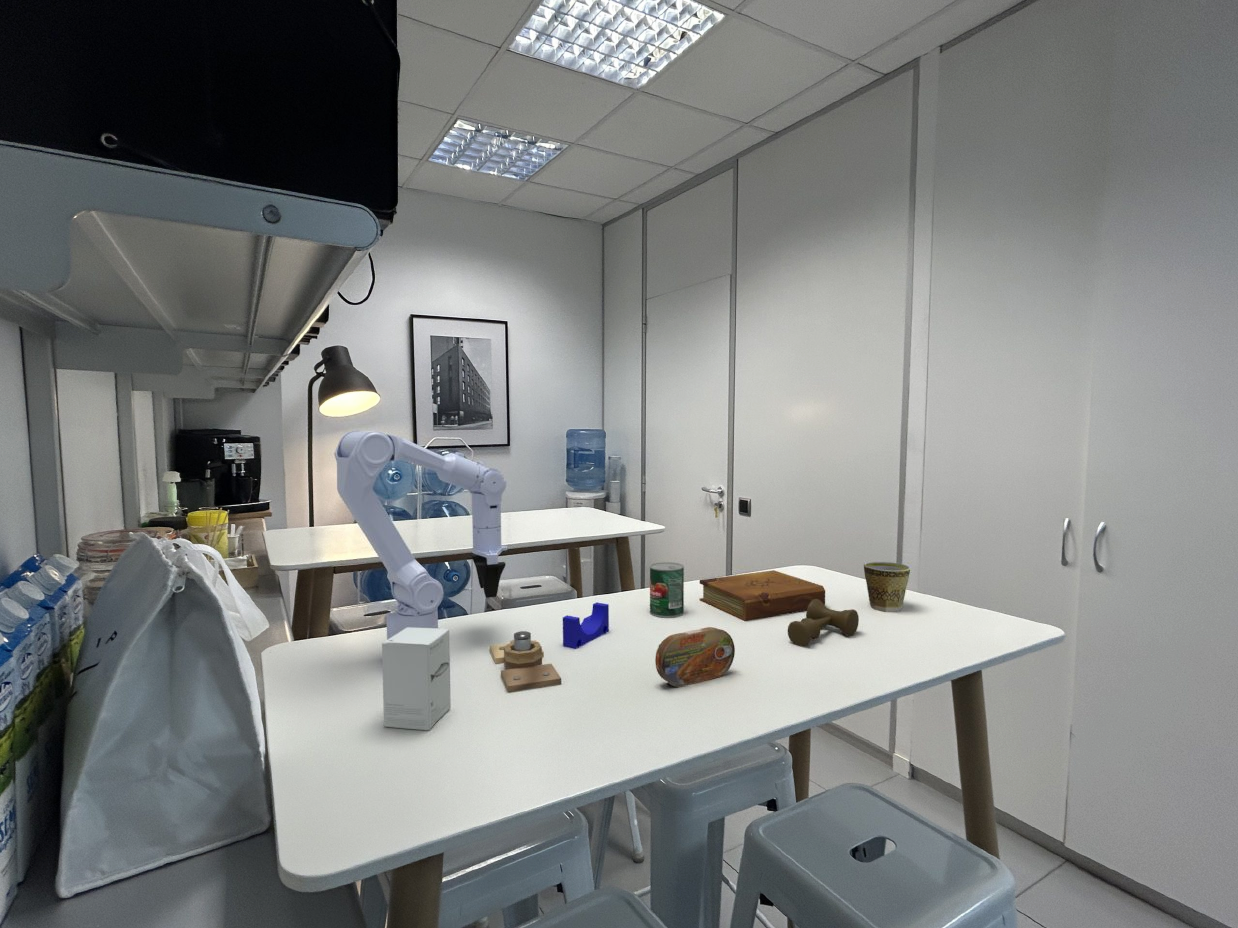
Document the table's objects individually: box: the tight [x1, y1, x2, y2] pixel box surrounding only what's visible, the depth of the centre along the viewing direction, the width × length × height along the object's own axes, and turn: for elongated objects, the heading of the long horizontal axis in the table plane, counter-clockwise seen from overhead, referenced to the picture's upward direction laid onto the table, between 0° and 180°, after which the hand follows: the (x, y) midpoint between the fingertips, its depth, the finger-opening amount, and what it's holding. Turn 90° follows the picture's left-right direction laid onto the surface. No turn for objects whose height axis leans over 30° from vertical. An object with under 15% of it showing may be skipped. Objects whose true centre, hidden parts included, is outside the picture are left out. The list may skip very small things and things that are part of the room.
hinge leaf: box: [489, 639, 545, 665], centre depth 115 cm, size 9×13×4 cm
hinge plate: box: [500, 657, 562, 693], centre depth 109 cm, size 9×13×2 cm
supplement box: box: [381, 627, 452, 731], centre depth 92 cm, size 7×7×13 cm
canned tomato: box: [649, 561, 685, 619], centre depth 143 cm, size 8×8×11 cm
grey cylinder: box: [513, 630, 532, 652], centre depth 112 cm, size 3×3×6 cm
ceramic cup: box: [863, 561, 911, 613], centre depth 147 cm, size 13×10×10 cm
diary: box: [699, 569, 826, 622], centre depth 150 cm, size 23×19×6 cm
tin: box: [654, 626, 736, 688], centre depth 106 cm, size 15×3×8 cm, turn 117°
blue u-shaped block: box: [562, 602, 610, 650], centre depth 127 cm, size 12×4×6 cm, turn 148°
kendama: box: [786, 599, 860, 647], centre depth 128 cm, size 6×10×20 cm
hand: (488, 592), depth 127 cm, fingers open, 7 cm apart
